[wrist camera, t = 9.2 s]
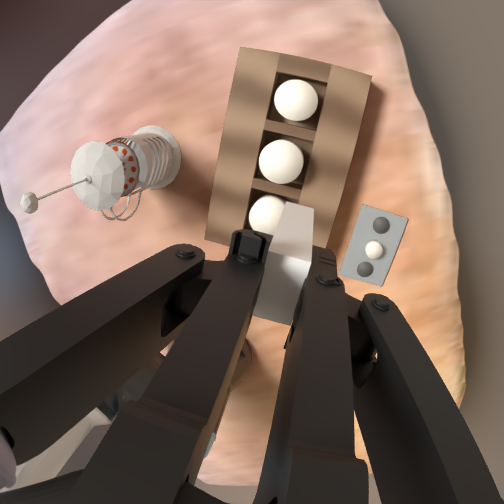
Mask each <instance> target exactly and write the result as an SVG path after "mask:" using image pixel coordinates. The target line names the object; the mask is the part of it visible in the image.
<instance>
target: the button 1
mask: <svg viewBox="0 0 504 504" xmlns="http://www.w3.org/2000/svg"><path fill="white" fill-rule="evenodd" d="M286 201H287V200H286V199H285V198H283V197H282V196H280V195H278V194H273V193H270V194H265V195H263V196H261V197H260V198H259V199H258V200H257V201H256V203H255V204H254V205H253V207H252V208H251V210H250V213H249V222H250V225H251V227H252V229H253V230H255V231H259V232H263V233H266V234H270V235H274V233H275V230H276V228H277V225H278V222H279V220H280V217H281V214H282V211H283V209H284V206H285V203H286Z"/></svg>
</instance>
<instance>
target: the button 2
mask: <svg viewBox="0 0 504 504" xmlns="http://www.w3.org/2000/svg"><path fill="white" fill-rule="evenodd" d="M303 163H304V156H303V152H302V150H301V148H300V147H299V146H298V145H297V144H296V143H294V142H293V141H291V140H287V139H279V140H276V141H274V142H272V143H270V144H268V145H267V146H266V147H265V148H264V149H263V150H262V152H261V154H260V157H259V166H260V170H261V172H262V174H263V175H264V176H265V177H266V178H267V179H268V180H270V181H272V182H274V183H278V184H285V183H289V182H291V181H293V180H295V179H296V178H297V177H298V176H299V174H300V172H301V170H302V167H303Z"/></svg>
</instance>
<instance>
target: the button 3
mask: <svg viewBox="0 0 504 504" xmlns="http://www.w3.org/2000/svg"><path fill="white" fill-rule="evenodd" d="M274 102H275V106H276V109H277V110H278V112H279V113H280V114H281V115H282V116H283V117H285V118H287V119H289V120H293V121H301V120H305V119H308V118H309V117H311V116H312V115H313V114H314V112H315V111H316V109H317V104H318V97H317V94H316V91H315V90H314V88H313V87H312V86H311V85H310V84H308V83H307V82H305V81H302V80H289V81H286V82H284V83H283V84H282V85H280V86H279V88H278V89H277V91H276V93H275V97H274Z"/></svg>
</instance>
